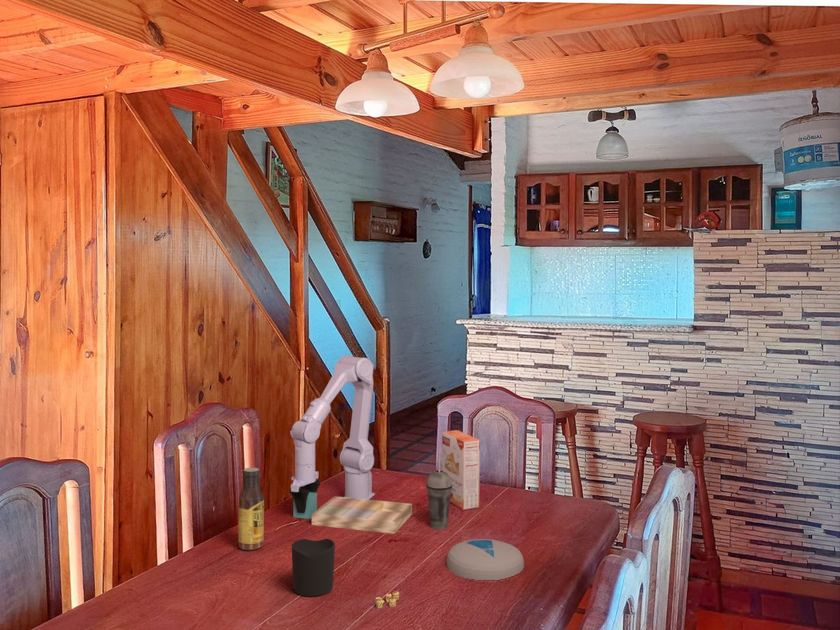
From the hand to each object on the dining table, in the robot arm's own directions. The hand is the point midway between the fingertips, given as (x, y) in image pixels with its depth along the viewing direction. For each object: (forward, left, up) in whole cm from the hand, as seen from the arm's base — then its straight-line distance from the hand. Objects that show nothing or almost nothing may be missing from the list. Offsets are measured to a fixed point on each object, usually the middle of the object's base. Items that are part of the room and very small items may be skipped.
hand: (305, 509), depth 210 cm
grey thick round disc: (+20, +56, -2) cm, 60 cm away
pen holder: (+44, +22, -2) cm, 49 cm away
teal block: (0, 0, -2) cm, 2 cm away
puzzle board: (-2, +17, -2) cm, 17 cm away
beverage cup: (-2, +39, -2) cm, 39 cm away
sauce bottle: (+26, -3, -2) cm, 26 cm away
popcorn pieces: (+46, +40, -2) cm, 61 cm away
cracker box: (-24, +40, -2) cm, 47 cm away
